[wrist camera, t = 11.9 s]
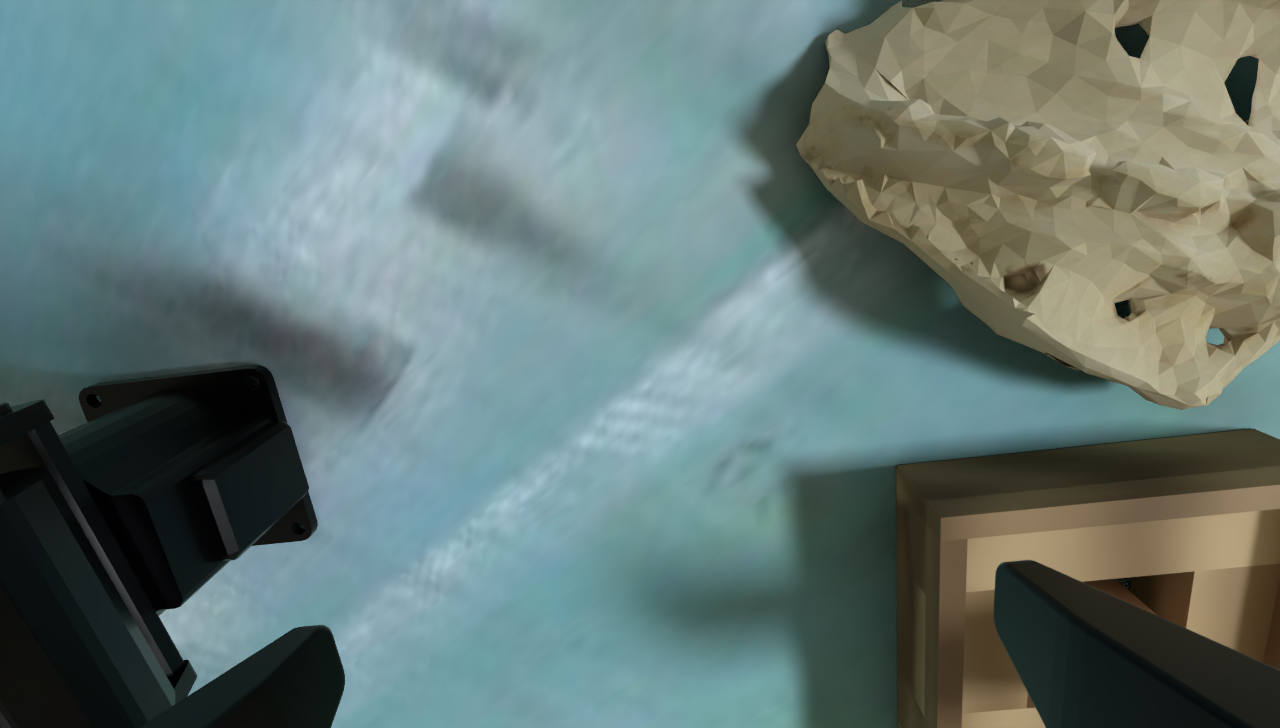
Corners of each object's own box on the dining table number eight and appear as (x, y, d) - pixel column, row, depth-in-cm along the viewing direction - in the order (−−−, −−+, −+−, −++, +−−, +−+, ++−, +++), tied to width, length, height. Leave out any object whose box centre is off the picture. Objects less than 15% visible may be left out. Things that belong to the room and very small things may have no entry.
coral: (764, 135, 19) (810, 119, 14) (1099, -229, 16) (1301, -407, 11) (1069, 450, 22) (1196, 531, 17) (1391, 185, 19) (1651, 187, 14)
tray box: (897, 733, 25) (935, 819, 22) (896, 465, 22) (940, 518, 19) (1205, 708, 25) (1293, 792, 21) (1253, 428, 21) (1366, 476, 18)
